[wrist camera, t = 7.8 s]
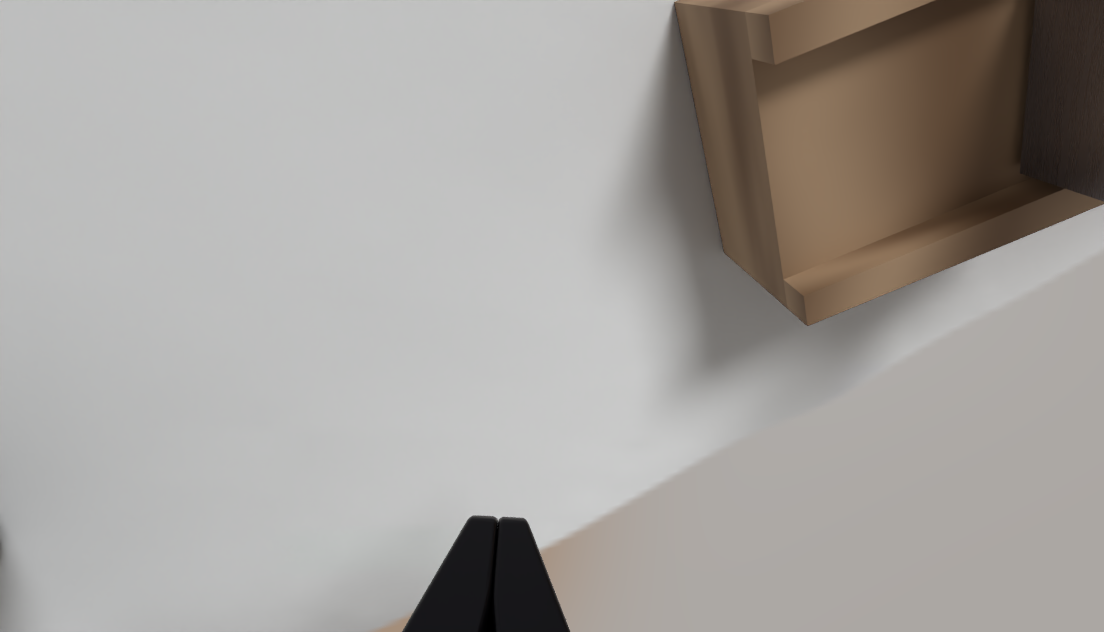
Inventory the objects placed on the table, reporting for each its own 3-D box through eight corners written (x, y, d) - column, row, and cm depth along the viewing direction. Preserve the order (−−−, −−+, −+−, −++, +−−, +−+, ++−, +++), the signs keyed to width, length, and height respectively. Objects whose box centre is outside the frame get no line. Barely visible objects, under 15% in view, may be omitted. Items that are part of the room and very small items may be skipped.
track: (724, 252, 21) (807, 326, 17) (674, 2, 17) (768, 14, 12) (994, 141, 21) (1145, 186, 17) (1013, -134, 17) (1220, -167, 13)
